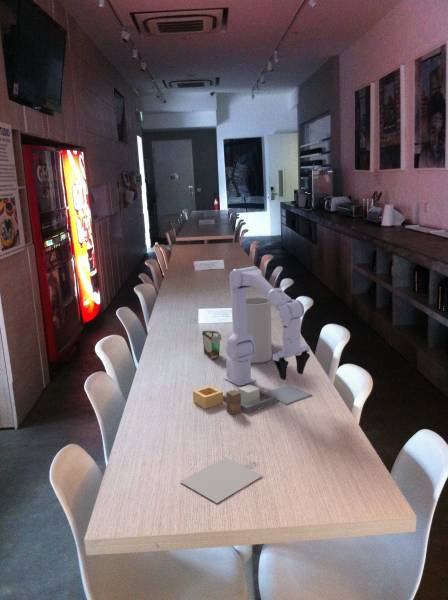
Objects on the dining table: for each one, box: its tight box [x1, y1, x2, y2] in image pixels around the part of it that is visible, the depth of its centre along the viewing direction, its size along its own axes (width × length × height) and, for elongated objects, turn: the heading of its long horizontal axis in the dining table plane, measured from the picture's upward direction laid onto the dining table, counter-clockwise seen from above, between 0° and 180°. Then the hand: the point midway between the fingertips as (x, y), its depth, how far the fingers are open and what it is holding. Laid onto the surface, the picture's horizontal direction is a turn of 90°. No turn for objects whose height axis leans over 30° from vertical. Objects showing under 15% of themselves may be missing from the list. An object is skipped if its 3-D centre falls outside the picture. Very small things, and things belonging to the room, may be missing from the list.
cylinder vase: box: [246, 296, 273, 364], centre depth 232 cm, size 12×12×25 cm
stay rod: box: [225, 389, 242, 416], centre depth 185 cm, size 3×3×7 cm
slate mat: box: [265, 384, 312, 405], centre depth 198 cm, size 12×12×1 cm
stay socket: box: [192, 385, 224, 409], centre depth 193 cm, size 7×7×4 cm
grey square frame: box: [223, 389, 277, 414], centre depth 193 cm, size 13×13×2 cm
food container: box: [201, 330, 223, 361], centre depth 240 cm, size 12×6×10 cm, turn 22°
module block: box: [238, 384, 261, 406], centre depth 193 cm, size 5×5×5 cm
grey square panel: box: [179, 457, 264, 504], centre depth 152 cm, size 23×25×1 cm
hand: (291, 376), depth 188 cm, fingers open, 7 cm apart
